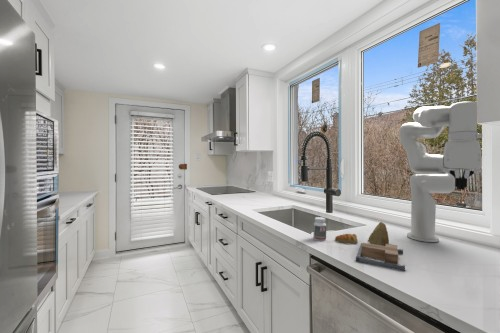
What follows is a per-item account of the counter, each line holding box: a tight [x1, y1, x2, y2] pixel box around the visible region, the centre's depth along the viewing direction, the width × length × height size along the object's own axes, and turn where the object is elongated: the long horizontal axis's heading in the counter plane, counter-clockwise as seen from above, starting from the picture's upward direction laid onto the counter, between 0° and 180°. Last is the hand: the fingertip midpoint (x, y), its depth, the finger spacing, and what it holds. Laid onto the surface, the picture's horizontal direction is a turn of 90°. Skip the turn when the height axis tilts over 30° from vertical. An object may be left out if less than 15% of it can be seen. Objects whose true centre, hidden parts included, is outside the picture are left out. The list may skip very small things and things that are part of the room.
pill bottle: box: [313, 216, 327, 242], centre depth 114 cm, size 6×6×10 cm
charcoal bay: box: [355, 242, 406, 272], centre depth 93 cm, size 18×15×2 cm
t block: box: [361, 242, 399, 264], centre depth 93 cm, size 12×12×4 cm
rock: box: [367, 221, 390, 246], centre depth 106 cm, size 11×9×10 cm
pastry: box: [334, 233, 359, 245], centre depth 111 cm, size 9×7×4 cm
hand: (460, 189), depth 86 cm, fingers closed
